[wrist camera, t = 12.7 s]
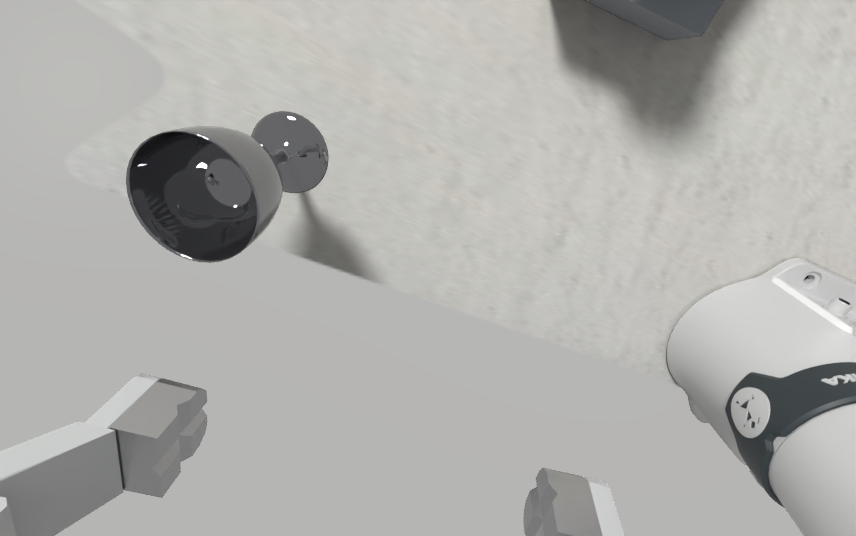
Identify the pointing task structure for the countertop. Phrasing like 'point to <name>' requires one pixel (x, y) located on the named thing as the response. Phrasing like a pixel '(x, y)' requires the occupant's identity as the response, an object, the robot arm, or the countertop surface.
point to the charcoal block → (664, 15)
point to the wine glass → (221, 182)
